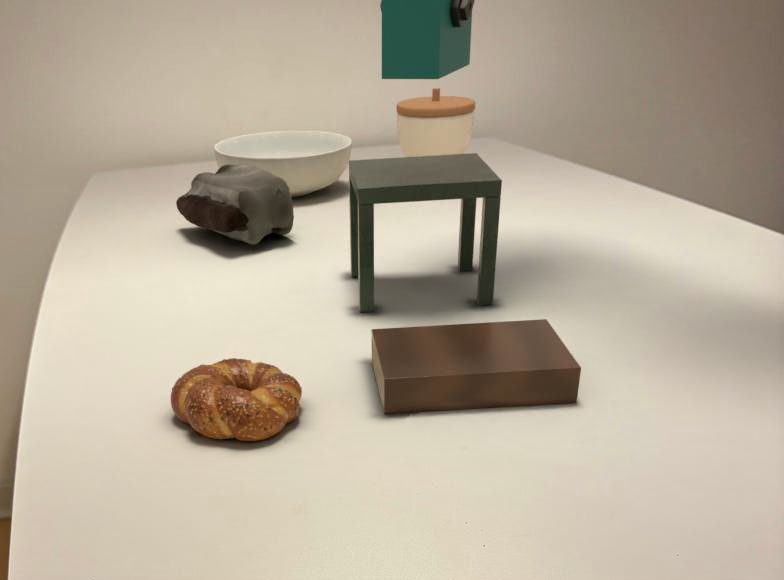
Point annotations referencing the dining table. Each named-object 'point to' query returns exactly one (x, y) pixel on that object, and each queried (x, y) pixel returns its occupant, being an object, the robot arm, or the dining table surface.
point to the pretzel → (236, 399)
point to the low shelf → (473, 366)
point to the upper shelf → (425, 183)
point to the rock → (239, 203)
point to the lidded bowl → (435, 124)
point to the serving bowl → (290, 156)
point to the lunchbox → (422, 40)
